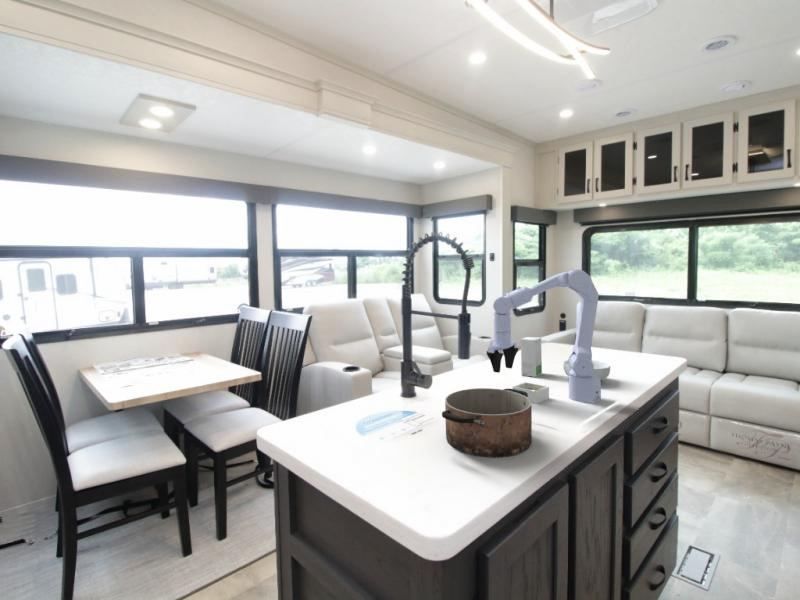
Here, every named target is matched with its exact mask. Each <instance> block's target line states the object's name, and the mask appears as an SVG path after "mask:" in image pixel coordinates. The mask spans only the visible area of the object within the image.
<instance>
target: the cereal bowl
mask: <svg viewBox="0 0 800 600" xmlns="http://www.w3.org/2000/svg"><path fill="white" fill-rule="evenodd" d="M592 363H593V371H592V376H594V377H597V378H599V379H600V381H604V380H606V379H607V378H608V377H609V375H610V372H611V365H610V364H609V363H606V362H604V361H599V360H594V359H592ZM563 370H564V373H565V375H566V376H568V377H569V371H570V370H571V367H570V366H569V363H568V359H567V360H565V361H563Z"/></svg>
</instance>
